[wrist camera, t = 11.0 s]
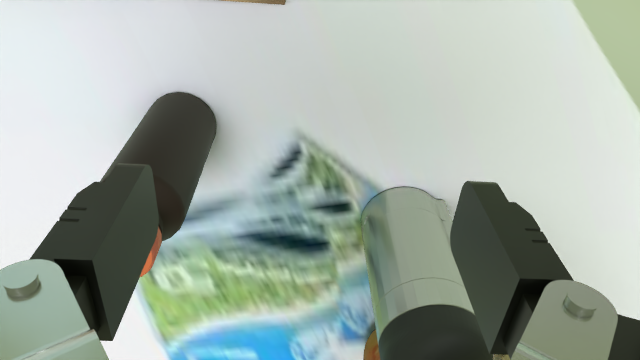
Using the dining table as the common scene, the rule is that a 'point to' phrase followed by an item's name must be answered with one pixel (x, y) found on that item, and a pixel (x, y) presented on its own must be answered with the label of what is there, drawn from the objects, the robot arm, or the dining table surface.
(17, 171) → the dining table surface
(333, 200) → the dining table surface
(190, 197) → the bottle
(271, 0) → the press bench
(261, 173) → the dining table surface
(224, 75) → the dining table surface
